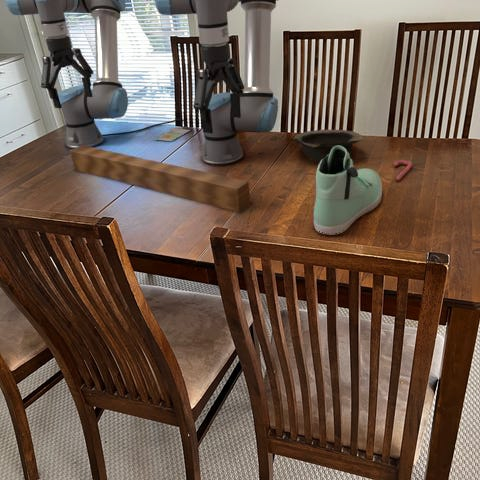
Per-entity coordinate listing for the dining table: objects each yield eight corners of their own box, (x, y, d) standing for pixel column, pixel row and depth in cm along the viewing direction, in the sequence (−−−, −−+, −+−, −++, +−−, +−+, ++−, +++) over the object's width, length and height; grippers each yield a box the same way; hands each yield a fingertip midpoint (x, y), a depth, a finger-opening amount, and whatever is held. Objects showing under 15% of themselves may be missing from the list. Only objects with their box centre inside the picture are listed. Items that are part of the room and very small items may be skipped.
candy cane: (380, 178, 154) (381, 174, 154) (397, 162, 164) (397, 158, 164) (399, 182, 151) (399, 178, 150) (414, 165, 161) (415, 161, 161)
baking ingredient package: (154, 138, 201) (173, 127, 213) (154, 139, 202) (173, 128, 213) (171, 140, 198) (190, 129, 209) (171, 141, 198) (190, 130, 209)
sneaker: (389, 187, 148) (396, 123, 138) (356, 242, 123) (361, 168, 112) (346, 181, 154) (350, 119, 144) (306, 232, 129) (307, 161, 118)
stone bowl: (320, 174, 160) (319, 147, 155) (281, 157, 180) (279, 132, 176) (378, 156, 168) (378, 130, 164) (334, 141, 189) (333, 118, 184)
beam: (74, 169, 180) (69, 150, 176) (86, 164, 184) (82, 145, 180) (239, 212, 142) (237, 189, 138) (250, 204, 146) (248, 181, 142)
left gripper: (31, 45, 144) (51, 114, 156) (94, 30, 161) (108, 93, 173) (16, 43, 148) (37, 111, 160) (79, 29, 165) (94, 91, 176)
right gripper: (196, 55, 112) (206, 141, 124) (253, 35, 129) (257, 112, 140) (171, 53, 116) (184, 137, 127) (230, 34, 133) (236, 109, 144)
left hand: (74, 102), depth 166 cm, fingers open, 13 cm apart
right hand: (222, 124), depth 134 cm, fingers open, 13 cm apart
